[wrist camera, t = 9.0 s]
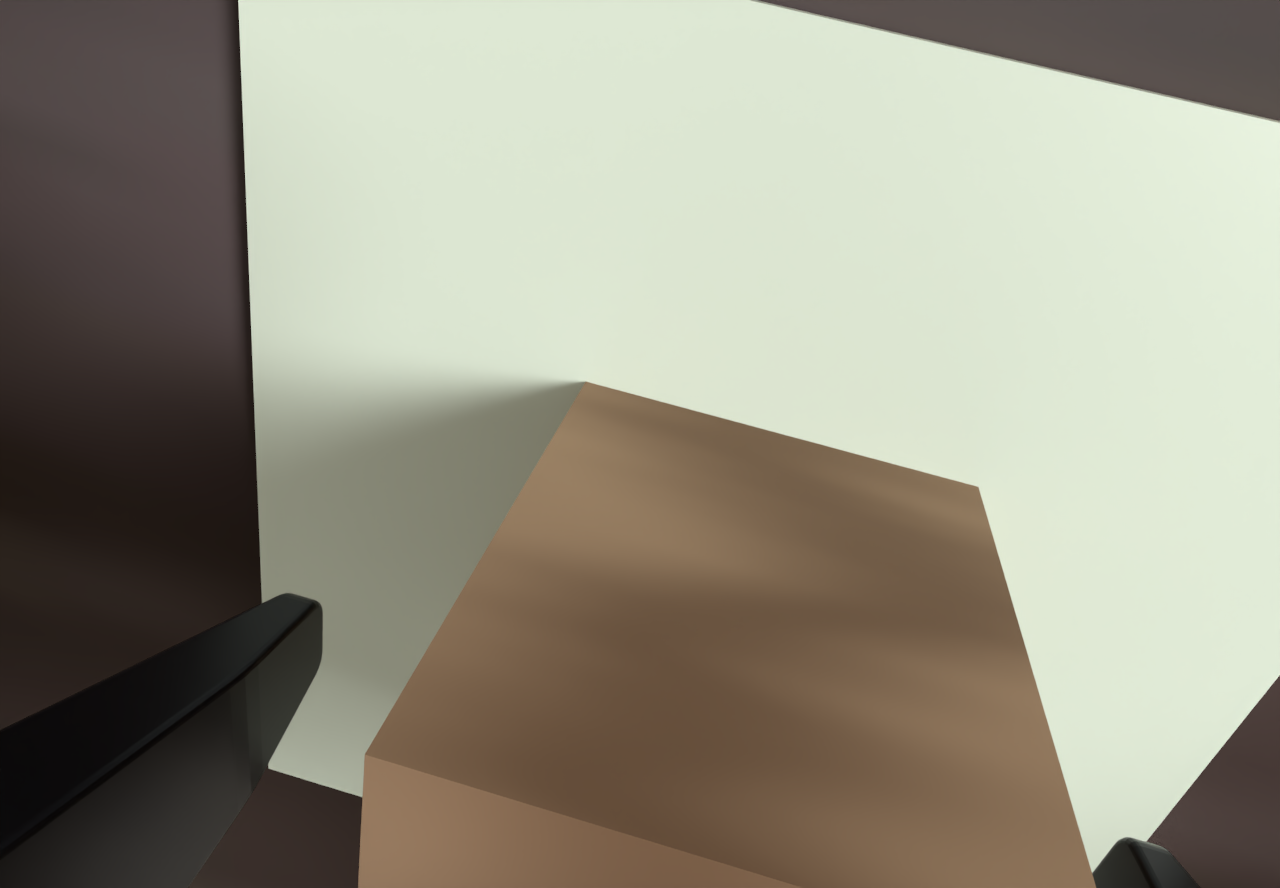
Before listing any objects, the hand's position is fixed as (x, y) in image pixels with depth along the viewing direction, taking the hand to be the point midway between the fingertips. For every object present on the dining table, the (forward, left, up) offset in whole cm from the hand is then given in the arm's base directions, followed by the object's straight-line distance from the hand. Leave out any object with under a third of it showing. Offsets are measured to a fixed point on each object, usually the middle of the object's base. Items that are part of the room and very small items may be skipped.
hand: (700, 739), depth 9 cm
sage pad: (0, 0, -3) cm, 3 cm away
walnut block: (0, 0, -3) cm, 3 cm away
